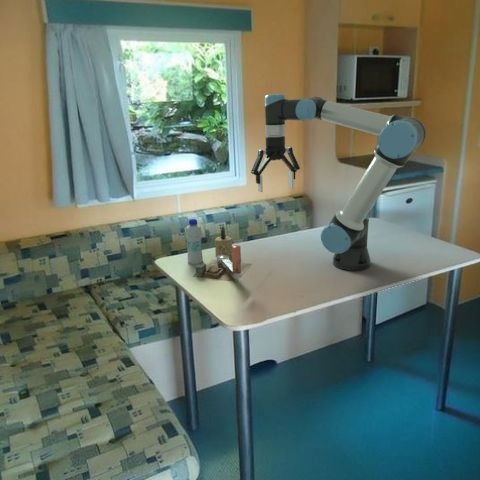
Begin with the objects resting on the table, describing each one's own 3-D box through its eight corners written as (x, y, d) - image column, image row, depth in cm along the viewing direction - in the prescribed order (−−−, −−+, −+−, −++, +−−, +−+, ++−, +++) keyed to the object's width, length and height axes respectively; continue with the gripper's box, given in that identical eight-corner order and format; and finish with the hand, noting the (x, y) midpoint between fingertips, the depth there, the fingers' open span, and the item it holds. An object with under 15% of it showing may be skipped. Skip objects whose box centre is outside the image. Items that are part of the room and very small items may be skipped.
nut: (220, 272, 192) (220, 263, 191) (216, 276, 189) (216, 266, 188) (211, 271, 194) (210, 262, 192) (207, 275, 190) (206, 265, 189)
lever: (215, 260, 198) (214, 232, 194) (226, 259, 200) (225, 230, 196) (232, 279, 179) (231, 248, 175) (244, 277, 181) (243, 247, 177)
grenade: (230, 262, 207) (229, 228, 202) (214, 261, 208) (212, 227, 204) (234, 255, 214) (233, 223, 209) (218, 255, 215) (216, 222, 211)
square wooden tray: (252, 267, 201) (252, 254, 199) (235, 285, 184) (235, 272, 182) (212, 262, 207) (211, 250, 205) (192, 279, 190) (192, 266, 188)
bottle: (206, 262, 207) (203, 217, 200) (198, 268, 201) (195, 222, 195) (192, 260, 210) (189, 216, 203) (184, 266, 204) (181, 220, 197)
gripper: (299, 132, 196) (299, 184, 203) (241, 137, 187) (243, 191, 194) (308, 134, 189) (308, 187, 196) (249, 139, 181) (250, 195, 187)
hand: (275, 189), depth 195 cm, fingers open, 13 cm apart
